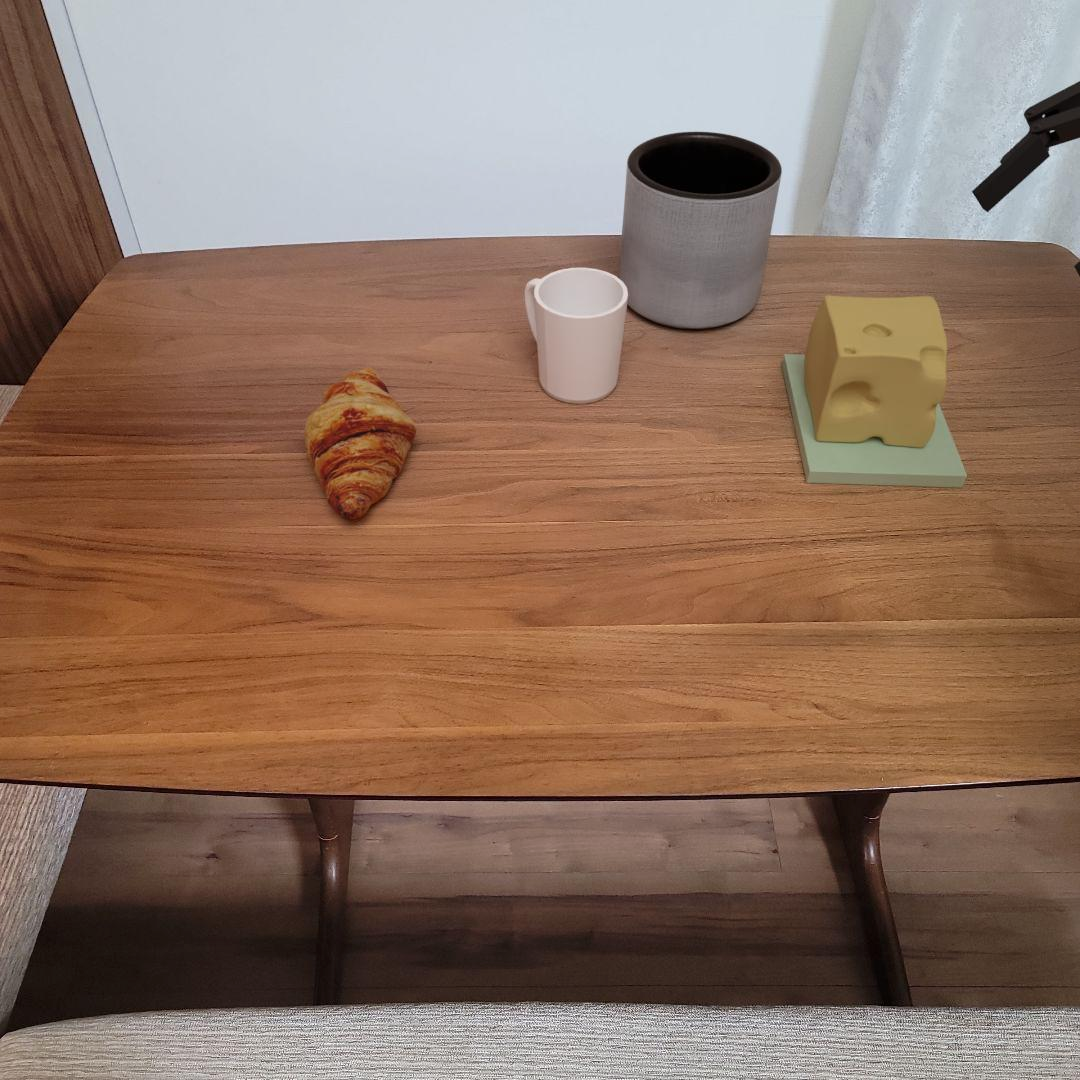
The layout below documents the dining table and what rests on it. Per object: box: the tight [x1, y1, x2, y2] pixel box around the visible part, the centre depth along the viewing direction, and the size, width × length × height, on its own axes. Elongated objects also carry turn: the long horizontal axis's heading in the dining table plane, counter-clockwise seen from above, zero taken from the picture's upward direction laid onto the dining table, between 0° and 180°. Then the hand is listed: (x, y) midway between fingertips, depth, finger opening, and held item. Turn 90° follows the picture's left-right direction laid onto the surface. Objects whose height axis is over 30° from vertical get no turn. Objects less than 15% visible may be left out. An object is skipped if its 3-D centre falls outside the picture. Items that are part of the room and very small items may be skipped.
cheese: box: [804, 294, 948, 448], centre depth 85 cm, size 10×11×10 cm
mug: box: [523, 267, 628, 405], centre depth 92 cm, size 11×9×10 cm
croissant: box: [303, 366, 417, 521], centre depth 85 cm, size 21×10×8 cm, turn 5°
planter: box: [617, 131, 783, 330], centre depth 100 cm, size 16×16×16 cm
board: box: [781, 353, 968, 489], centre depth 90 cm, size 18×14×2 cm
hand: (1027, 238), depth 79 cm, fingers open, 13 cm apart
